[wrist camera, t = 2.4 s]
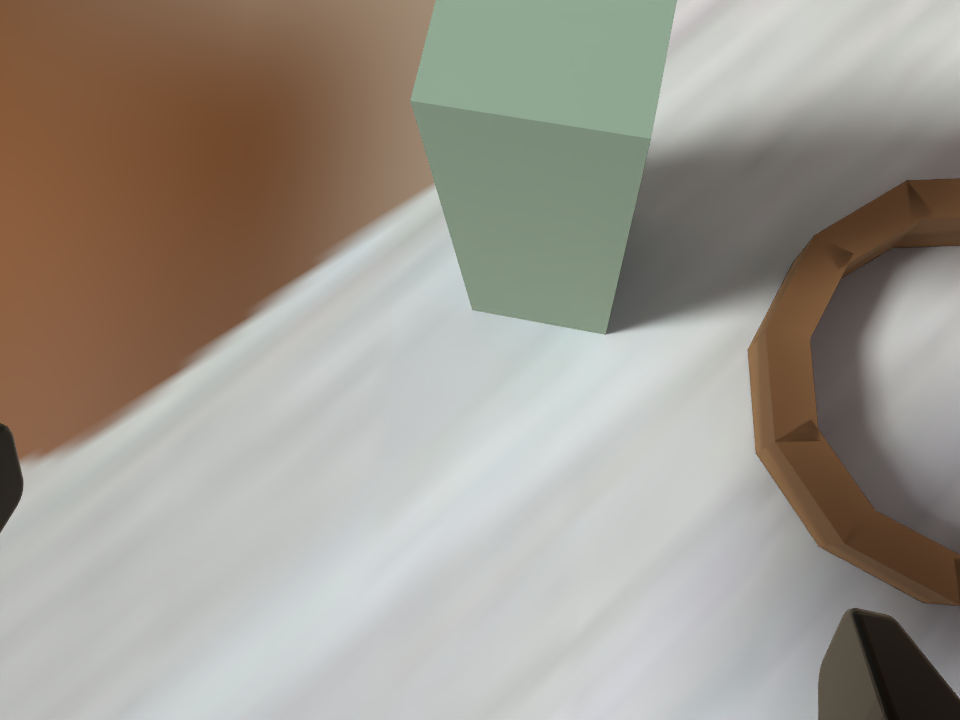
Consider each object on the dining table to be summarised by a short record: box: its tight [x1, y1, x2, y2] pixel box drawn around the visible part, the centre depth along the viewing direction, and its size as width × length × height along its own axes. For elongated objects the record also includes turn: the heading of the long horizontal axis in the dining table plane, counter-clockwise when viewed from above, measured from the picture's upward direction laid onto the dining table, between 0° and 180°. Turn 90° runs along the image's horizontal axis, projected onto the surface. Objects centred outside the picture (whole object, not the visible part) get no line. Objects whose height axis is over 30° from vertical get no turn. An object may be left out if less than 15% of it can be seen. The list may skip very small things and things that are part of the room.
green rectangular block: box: [411, 0, 677, 335], centre depth 19 cm, size 4×4×11 cm
